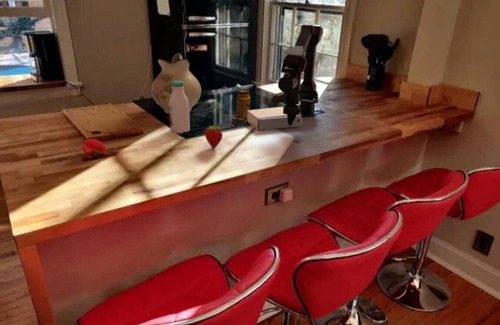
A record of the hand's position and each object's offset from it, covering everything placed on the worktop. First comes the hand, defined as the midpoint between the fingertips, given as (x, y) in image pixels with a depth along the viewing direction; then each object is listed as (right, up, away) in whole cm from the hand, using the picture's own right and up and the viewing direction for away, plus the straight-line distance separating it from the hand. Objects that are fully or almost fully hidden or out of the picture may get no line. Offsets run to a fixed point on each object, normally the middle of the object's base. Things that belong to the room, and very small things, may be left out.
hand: (289, 125), depth 152 cm
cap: (-69, -13, -22) cm, 74 cm away
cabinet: (-6, +2, +12) cm, 14 cm away
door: (-4, -1, +6) cm, 7 cm away
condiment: (-20, +6, +19) cm, 28 cm away
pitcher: (-50, +9, +26) cm, 57 cm away
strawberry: (-29, -10, -14) cm, 34 cm away
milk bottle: (-44, -2, +1) cm, 44 cm away
